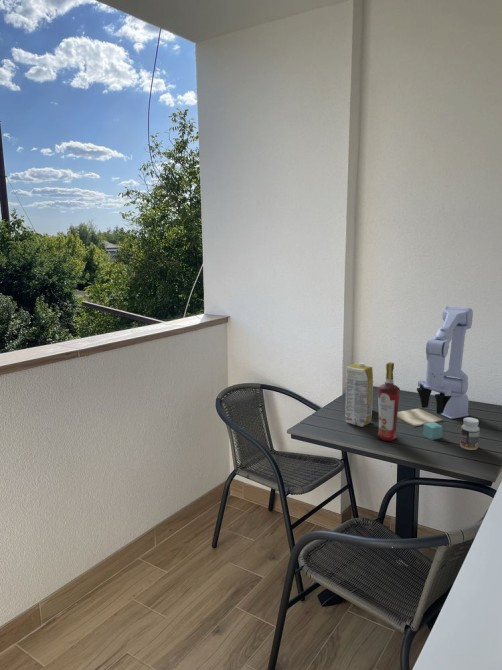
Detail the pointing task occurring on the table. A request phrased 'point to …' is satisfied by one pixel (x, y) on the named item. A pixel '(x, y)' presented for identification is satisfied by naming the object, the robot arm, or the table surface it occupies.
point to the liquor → (388, 406)
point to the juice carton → (358, 394)
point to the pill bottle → (470, 434)
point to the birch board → (417, 417)
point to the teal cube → (432, 430)
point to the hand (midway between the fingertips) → (432, 410)
